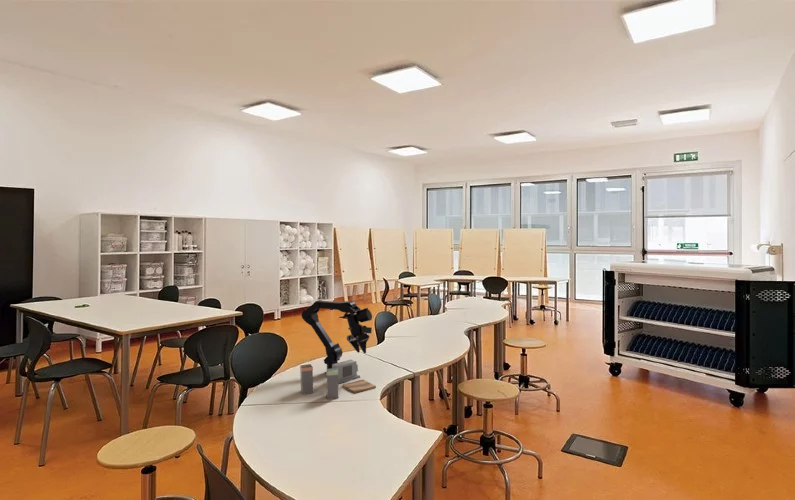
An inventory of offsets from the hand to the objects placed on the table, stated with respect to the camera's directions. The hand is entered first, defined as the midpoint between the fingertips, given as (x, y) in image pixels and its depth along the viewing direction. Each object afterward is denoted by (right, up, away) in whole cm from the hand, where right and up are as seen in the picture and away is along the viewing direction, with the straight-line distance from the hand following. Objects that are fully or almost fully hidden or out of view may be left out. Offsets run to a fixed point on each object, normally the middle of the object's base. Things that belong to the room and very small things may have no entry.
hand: (361, 352), depth 233 cm
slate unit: (-9, -13, -4) cm, 16 cm away
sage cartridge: (-11, -14, -28) cm, 33 cm away
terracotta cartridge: (-25, -14, -21) cm, 35 cm away
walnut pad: (0, -13, -16) cm, 21 cm away
